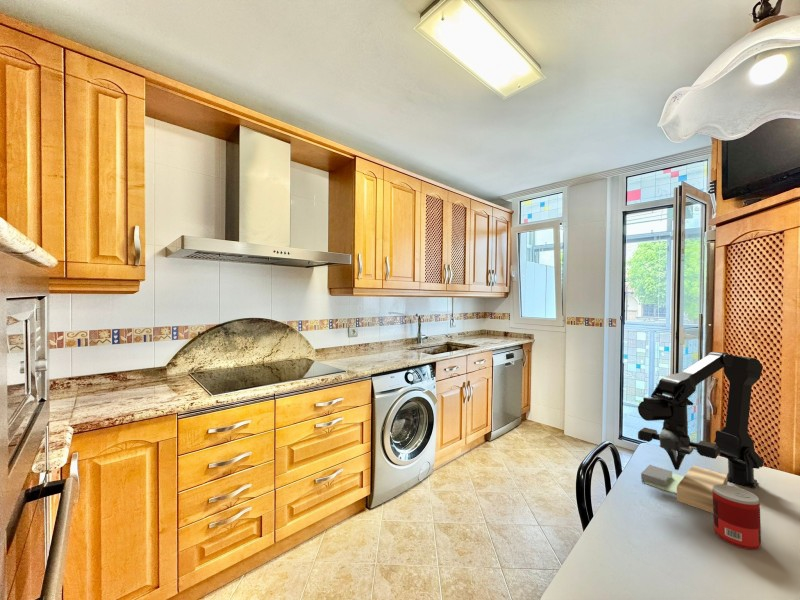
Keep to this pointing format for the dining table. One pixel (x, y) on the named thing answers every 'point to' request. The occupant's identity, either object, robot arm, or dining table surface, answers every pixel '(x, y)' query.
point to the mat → (671, 485)
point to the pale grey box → (656, 475)
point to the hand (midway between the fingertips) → (676, 469)
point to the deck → (699, 487)
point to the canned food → (737, 516)
